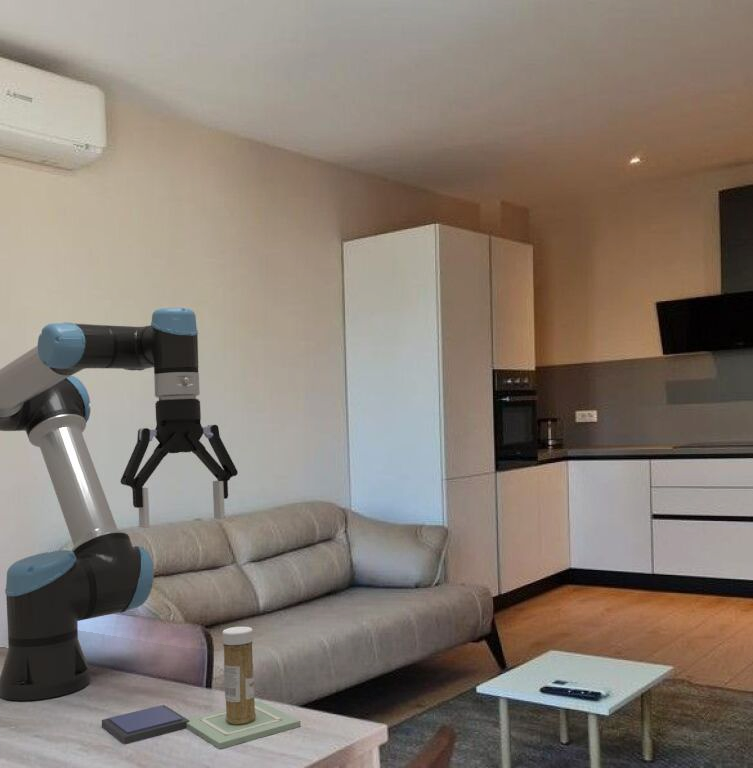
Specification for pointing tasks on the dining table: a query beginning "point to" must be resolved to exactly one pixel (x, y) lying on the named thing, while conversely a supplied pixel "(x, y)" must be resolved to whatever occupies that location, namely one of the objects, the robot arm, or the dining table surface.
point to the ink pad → (144, 724)
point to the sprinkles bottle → (239, 675)
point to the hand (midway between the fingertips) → (182, 522)
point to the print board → (241, 726)
